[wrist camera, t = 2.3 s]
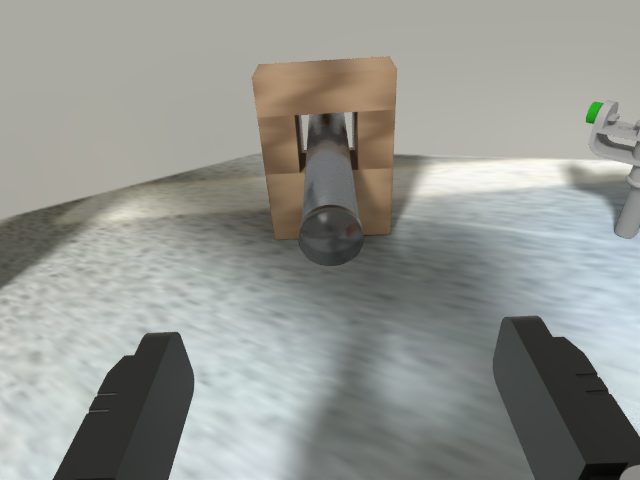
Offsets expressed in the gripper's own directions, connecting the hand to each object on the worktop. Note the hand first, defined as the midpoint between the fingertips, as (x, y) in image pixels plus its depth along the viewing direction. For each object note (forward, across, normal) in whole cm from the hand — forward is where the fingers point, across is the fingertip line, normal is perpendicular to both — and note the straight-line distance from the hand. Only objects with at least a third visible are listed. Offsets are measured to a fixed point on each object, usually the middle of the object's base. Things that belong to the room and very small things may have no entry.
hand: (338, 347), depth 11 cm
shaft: (+22, 0, +6) cm, 23 cm away
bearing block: (+26, 0, +12) cm, 28 cm away
